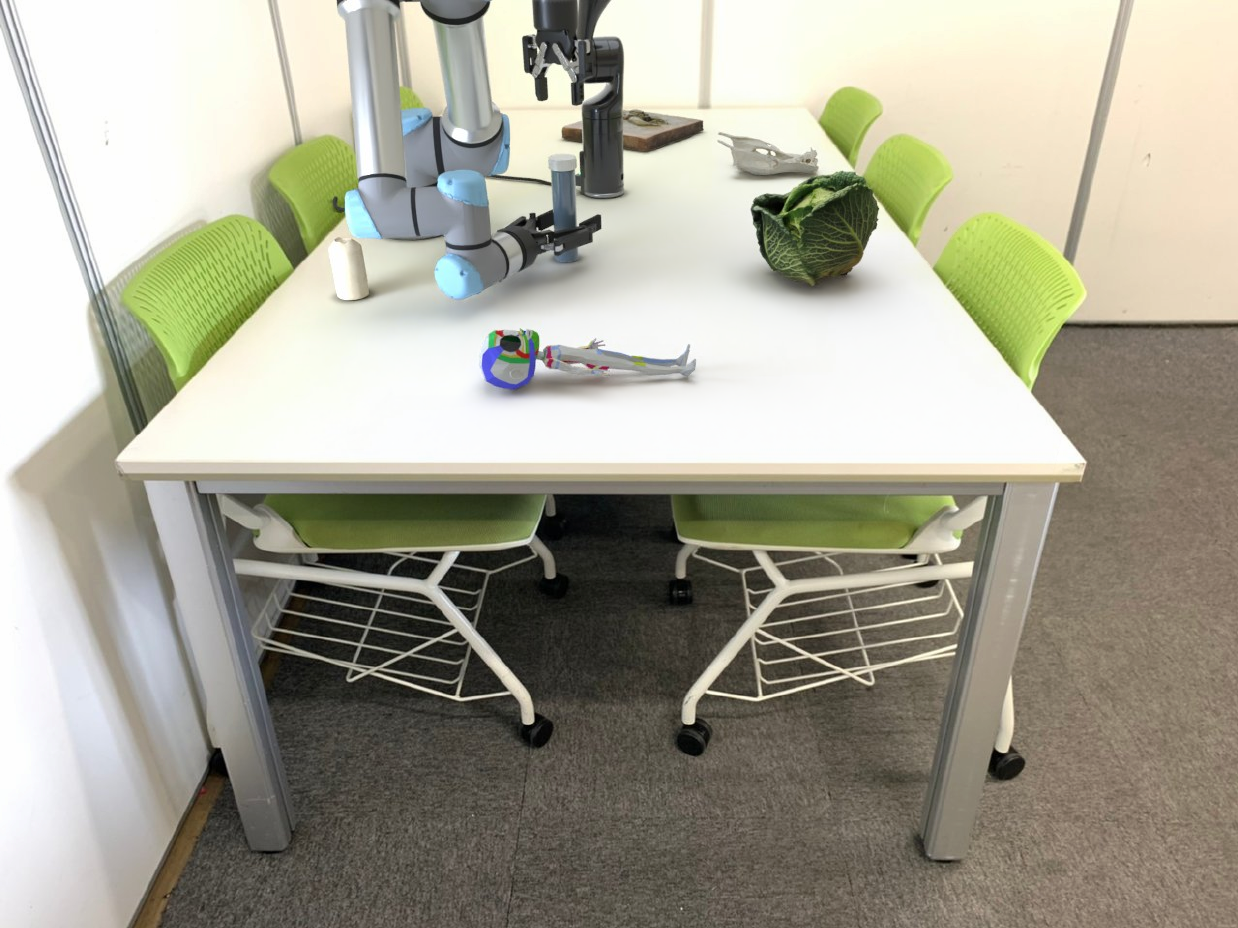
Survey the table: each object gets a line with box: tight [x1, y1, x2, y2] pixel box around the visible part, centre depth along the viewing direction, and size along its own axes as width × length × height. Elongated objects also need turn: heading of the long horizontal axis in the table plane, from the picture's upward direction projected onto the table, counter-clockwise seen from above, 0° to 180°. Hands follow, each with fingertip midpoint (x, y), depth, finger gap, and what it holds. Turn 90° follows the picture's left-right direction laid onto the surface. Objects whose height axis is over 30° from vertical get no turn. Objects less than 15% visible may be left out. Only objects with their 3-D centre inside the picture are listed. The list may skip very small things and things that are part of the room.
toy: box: [478, 328, 697, 391], centre depth 127 cm, size 10×8×30 cm
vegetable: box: [749, 170, 880, 287], centre depth 157 cm, size 20×19×20 cm
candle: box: [327, 236, 370, 301], centre depth 154 cm, size 6×6×10 cm
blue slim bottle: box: [550, 169, 579, 263], centre depth 167 cm, size 4×4×18 cm
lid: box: [547, 153, 578, 172], centre depth 162 cm, size 5×5×2 cm
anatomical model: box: [716, 131, 820, 176], centre depth 220 cm, size 15×9×25 cm
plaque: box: [561, 108, 705, 152], centre depth 257 cm, size 30×7×30 cm
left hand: (578, 218), depth 172 cm, fingers open, 9 cm apart
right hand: (559, 102), depth 157 cm, fingers open, 7 cm apart
